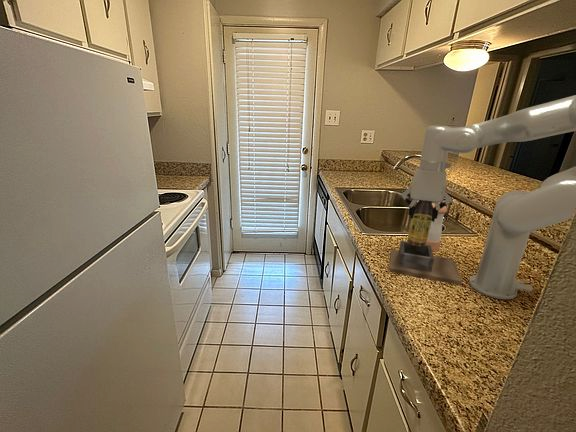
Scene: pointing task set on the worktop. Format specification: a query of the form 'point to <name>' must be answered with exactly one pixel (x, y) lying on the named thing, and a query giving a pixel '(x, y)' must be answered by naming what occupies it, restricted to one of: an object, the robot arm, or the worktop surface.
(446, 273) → the bottle caddy
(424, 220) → the sauce bottle
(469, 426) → the worktop surface
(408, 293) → the worktop surface
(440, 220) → the pepper shaker
